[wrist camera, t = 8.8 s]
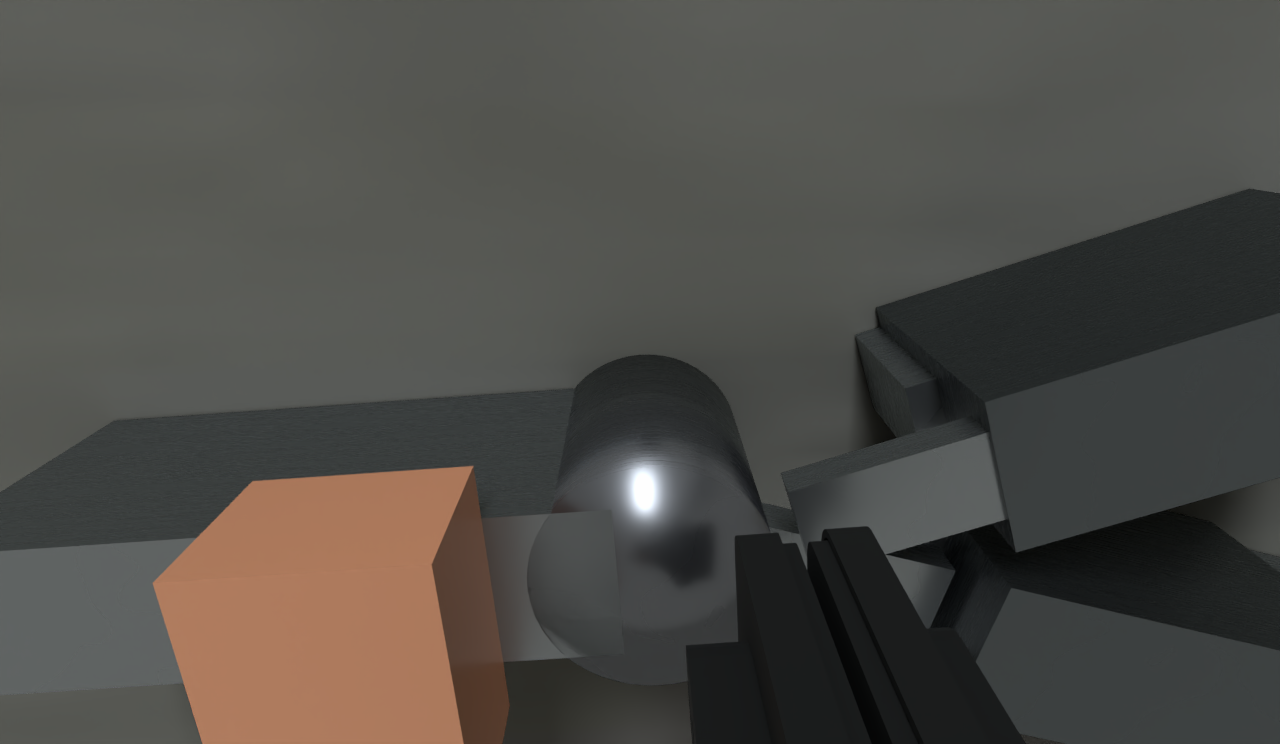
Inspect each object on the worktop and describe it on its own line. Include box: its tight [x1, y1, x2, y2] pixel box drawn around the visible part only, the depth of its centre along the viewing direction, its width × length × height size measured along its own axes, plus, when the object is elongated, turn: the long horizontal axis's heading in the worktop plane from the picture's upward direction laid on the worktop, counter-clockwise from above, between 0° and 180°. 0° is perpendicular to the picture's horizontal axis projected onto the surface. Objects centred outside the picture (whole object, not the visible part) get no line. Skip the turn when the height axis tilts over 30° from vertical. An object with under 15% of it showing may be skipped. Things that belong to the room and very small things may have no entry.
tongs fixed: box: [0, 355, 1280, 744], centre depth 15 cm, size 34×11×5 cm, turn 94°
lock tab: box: [153, 466, 510, 744], centre depth 10 cm, size 3×4×2 cm
